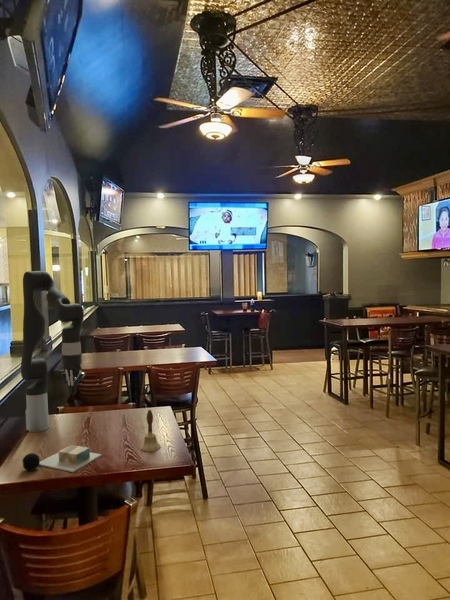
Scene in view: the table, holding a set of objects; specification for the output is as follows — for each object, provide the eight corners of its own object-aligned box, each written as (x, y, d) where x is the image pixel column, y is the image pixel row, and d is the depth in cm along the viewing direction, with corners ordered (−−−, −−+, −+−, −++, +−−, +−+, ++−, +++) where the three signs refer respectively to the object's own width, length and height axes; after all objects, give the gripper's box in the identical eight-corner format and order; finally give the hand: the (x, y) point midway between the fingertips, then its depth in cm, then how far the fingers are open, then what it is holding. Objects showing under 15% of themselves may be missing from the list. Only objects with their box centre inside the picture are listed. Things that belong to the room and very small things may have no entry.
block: (58, 451, 177) (76, 454, 174) (71, 444, 184) (89, 447, 180) (59, 461, 178) (77, 465, 174) (71, 454, 184) (89, 457, 180)
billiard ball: (21, 468, 174) (20, 453, 173) (38, 464, 177) (37, 449, 176) (24, 474, 168) (23, 458, 168) (41, 470, 172) (40, 454, 171)
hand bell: (164, 445, 193) (162, 407, 192) (154, 452, 186) (153, 414, 184) (146, 443, 196) (145, 406, 195) (136, 450, 188) (135, 412, 187)
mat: (36, 465, 176) (36, 463, 176) (66, 449, 191) (66, 448, 191) (73, 472, 169) (73, 470, 169) (101, 455, 184) (101, 454, 184)
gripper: (52, 353, 187) (54, 394, 189) (77, 355, 182) (79, 398, 183) (65, 349, 194) (67, 389, 196) (90, 352, 189) (91, 393, 190)
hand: (73, 394), depth 190 cm, fingers closed
